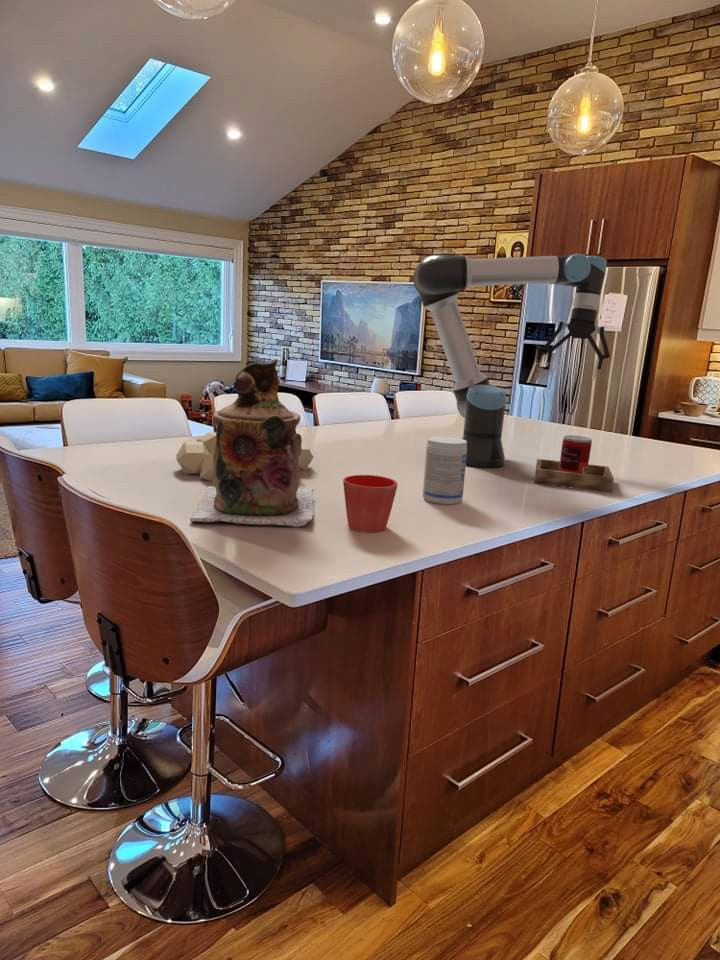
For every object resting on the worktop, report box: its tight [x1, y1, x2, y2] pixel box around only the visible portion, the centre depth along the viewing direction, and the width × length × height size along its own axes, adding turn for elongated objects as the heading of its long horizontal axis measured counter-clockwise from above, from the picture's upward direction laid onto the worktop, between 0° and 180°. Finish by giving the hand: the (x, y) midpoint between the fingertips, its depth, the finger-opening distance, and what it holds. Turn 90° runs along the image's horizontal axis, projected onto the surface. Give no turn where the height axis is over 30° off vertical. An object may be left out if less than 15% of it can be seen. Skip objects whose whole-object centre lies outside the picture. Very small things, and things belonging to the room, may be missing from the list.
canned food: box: [559, 434, 593, 474], centre depth 181 cm, size 8×8×11 cm
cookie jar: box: [189, 358, 315, 528], centre depth 134 cm, size 25×25×32 cm
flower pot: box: [342, 474, 399, 533], centre depth 130 cm, size 11×11×10 cm
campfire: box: [175, 431, 314, 482], centre depth 171 cm, size 35×34×17 cm
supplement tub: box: [422, 436, 467, 505], centre depth 153 cm, size 10×10×15 cm
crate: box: [534, 458, 614, 494], centre depth 182 cm, size 20×16×4 cm
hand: (571, 376), depth 206 cm, fingers open, 13 cm apart
